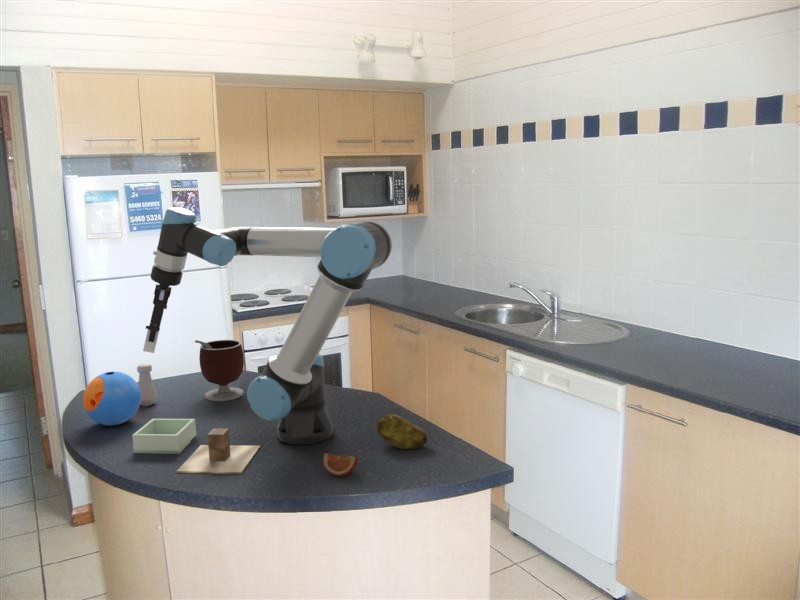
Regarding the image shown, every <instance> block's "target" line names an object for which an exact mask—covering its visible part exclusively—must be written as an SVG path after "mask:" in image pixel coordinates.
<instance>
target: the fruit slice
mask: <svg viewBox="0 0 800 600" xmlns="http://www.w3.org/2000/svg"><path fill="white" fill-rule="evenodd" d="M322 460H323V461H322V463H323V466H324V468H325V469H326V471H328V472H329V473H330V474H331V475H333V476H337V477H346V476H348V475H350V474H352V473H353V472H354V471H355V469H356V468H357V465H358V464H359V458H358V457H357V456H356V455H347V454H342V453H341V454H340V455H338V454H333V453H326V452H324V453H323V458H322Z"/></svg>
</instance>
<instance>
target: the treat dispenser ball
mask: <svg viewBox="0 0 800 600" xmlns="http://www.w3.org/2000/svg"><path fill="white" fill-rule="evenodd" d="M138 384H139V383H137V381H136V380H135V379H134V378H133V377H132V376H130V375H129V374H127V373H124V372H122V371H106V372H104V373H101V374H99V375H97V376H95V377H94V378H93V379H92V380H90V382H89V383H88V385H87V386H86V388H85V390H84V393H83V396H82V403H83V407H84V411H85V413H86V414H87V416H88V417H89V418H90V419H91V420H92V421H94V422H96V423H97V424H100V425H101V426H102V425H103V426H118V425H122V424H124V423H126V422H127V421H129V420H131V419H132V418H133V417H134V416H135V414H136V413H137V412H138V410H139V408H140V402H141V392H140V388H139V386H138Z"/></svg>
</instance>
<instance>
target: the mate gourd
mask: <svg viewBox="0 0 800 600" xmlns="http://www.w3.org/2000/svg"><path fill="white" fill-rule="evenodd" d="M194 343H196V344H200V346H199V347H200V350H199V359H198V360H199V367H200V372H201V375H202V376H203V378H204V379H205V380H206V381H207V382H208V383H210V384H214V385H217V386H219V387H218V388H214V389H211V390H208V391H207V392H206V393H205V394H204V398H205V399H206V400H208V401H210V402H212V401H213V402H225V401H231V400H236V399H239V398H241V397H242V396H243V395H244V390H243V389H241V388H240V387H233V386H232V387H229V384H232V383H234V382H236V381H237V380H239V378H240V377H241V375H242V374H243V371H244V365H245V363H244V362H245V359H244V357H245V356H244V350H243V346H242V342H241V341H240V340H235V339H218V340H217V339H216V340H211V341H207V342H204V341H200V340H198V339H197V340H194ZM240 396H241V397H240Z"/></svg>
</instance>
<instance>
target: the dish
mask: <svg viewBox="0 0 800 600" xmlns="http://www.w3.org/2000/svg"><path fill="white" fill-rule="evenodd" d="M196 426H197V423H196V419H195V418H152V419H150V420H149V421H148V422H146V424H144V425H143V426H142V427H141V428H139V429H138V430H137V431H136V432H134V433H133V434H132V435H131V436H132V448H133V454H148V455H150V454H152V455H153V454H158V455H159V454H161V455H180V454H181V452H183V451H184V449H185V448H186V447H187V446H188V445H189V444H190V443H191V442H192V441H193V440H194V439H195V438H196V437H197V427H196ZM195 436H196V437H195ZM194 437H195V438H194ZM193 438H194V439H193ZM192 439H193V440H192ZM191 440H192V441H191Z"/></svg>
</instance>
